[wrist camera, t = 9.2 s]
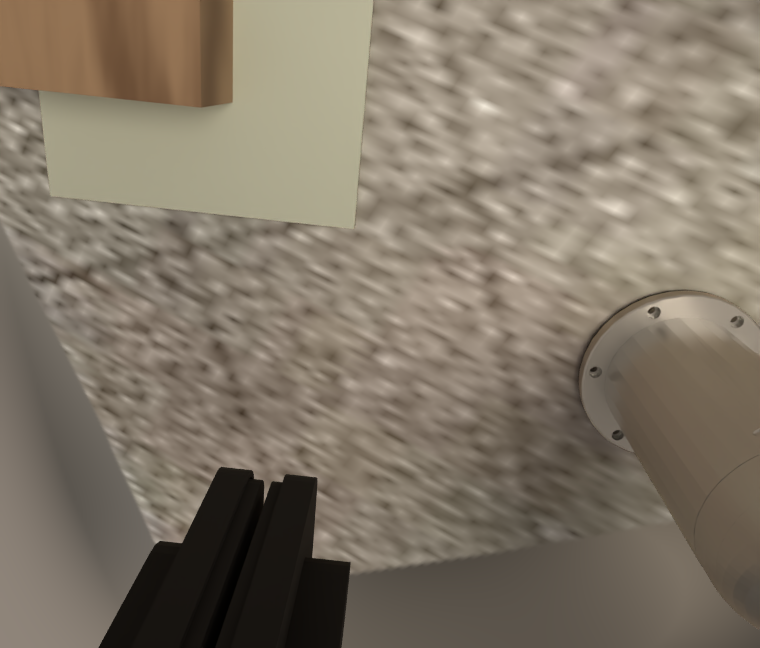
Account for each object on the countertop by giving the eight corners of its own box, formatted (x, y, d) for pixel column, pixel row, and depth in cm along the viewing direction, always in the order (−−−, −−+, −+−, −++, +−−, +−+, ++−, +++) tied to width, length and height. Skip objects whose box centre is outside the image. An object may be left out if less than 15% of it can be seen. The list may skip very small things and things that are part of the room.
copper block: (199, -25, 29) (-49, -51, 29) (201, 107, 31) (-29, 83, 31) (233, -9, 35) (24, -32, 35) (232, 102, 37) (37, 81, 37)
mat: (385, -140, 32) (385, -143, 32) (354, 227, 40) (354, 229, 40) (14, -179, 32) (8, -183, 32) (54, 194, 40) (50, 196, 40)
